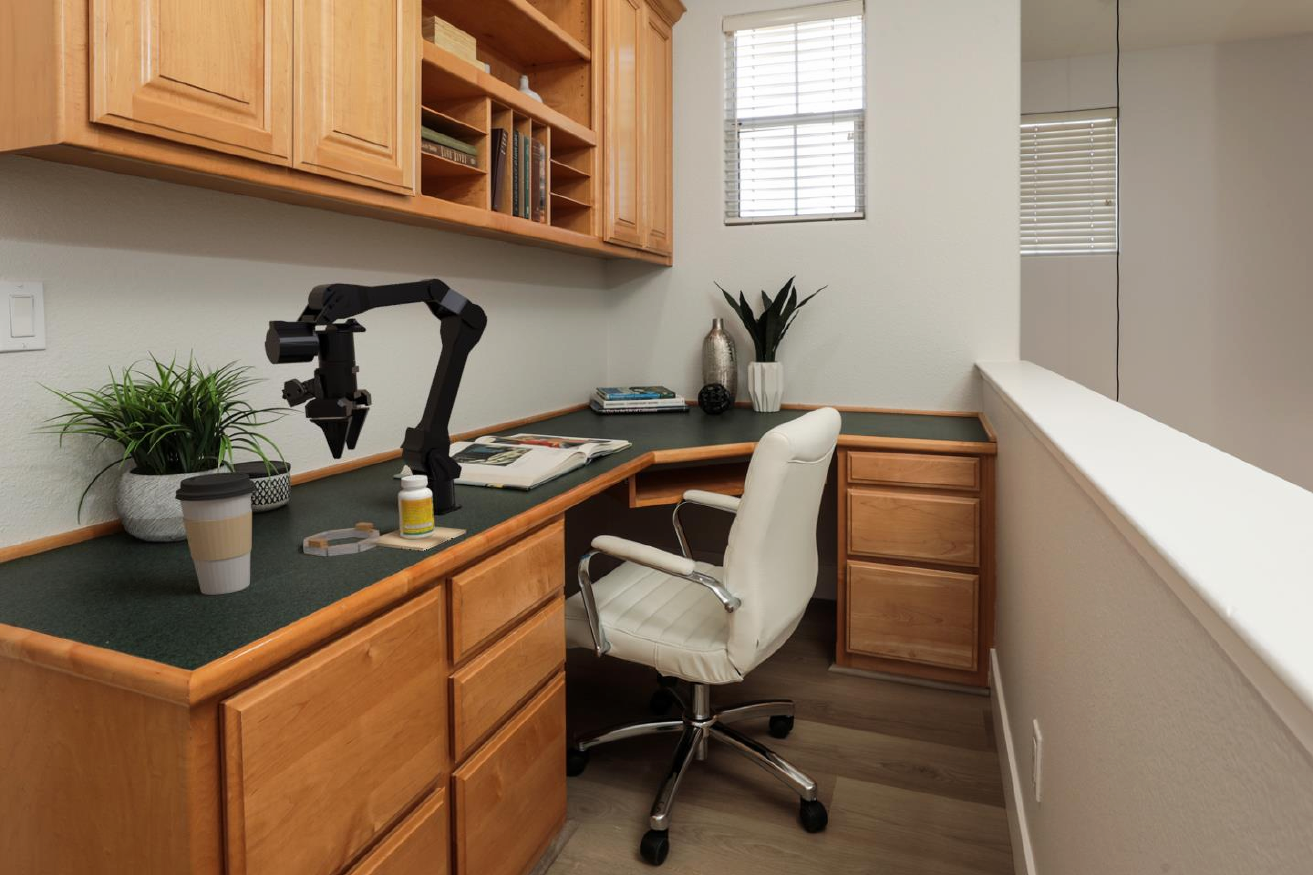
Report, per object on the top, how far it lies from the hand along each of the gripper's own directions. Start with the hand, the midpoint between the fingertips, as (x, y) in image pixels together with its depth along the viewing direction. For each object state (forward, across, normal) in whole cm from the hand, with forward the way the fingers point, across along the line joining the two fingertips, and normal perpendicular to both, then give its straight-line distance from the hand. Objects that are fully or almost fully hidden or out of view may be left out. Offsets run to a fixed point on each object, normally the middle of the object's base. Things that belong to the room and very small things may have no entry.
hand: (344, 454), depth 133 cm
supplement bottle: (+13, +8, +12) cm, 20 cm away
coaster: (+13, +8, +12) cm, 20 cm away
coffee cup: (+13, +28, -9) cm, 32 cm away
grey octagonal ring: (+13, +10, +1) cm, 16 cm away
